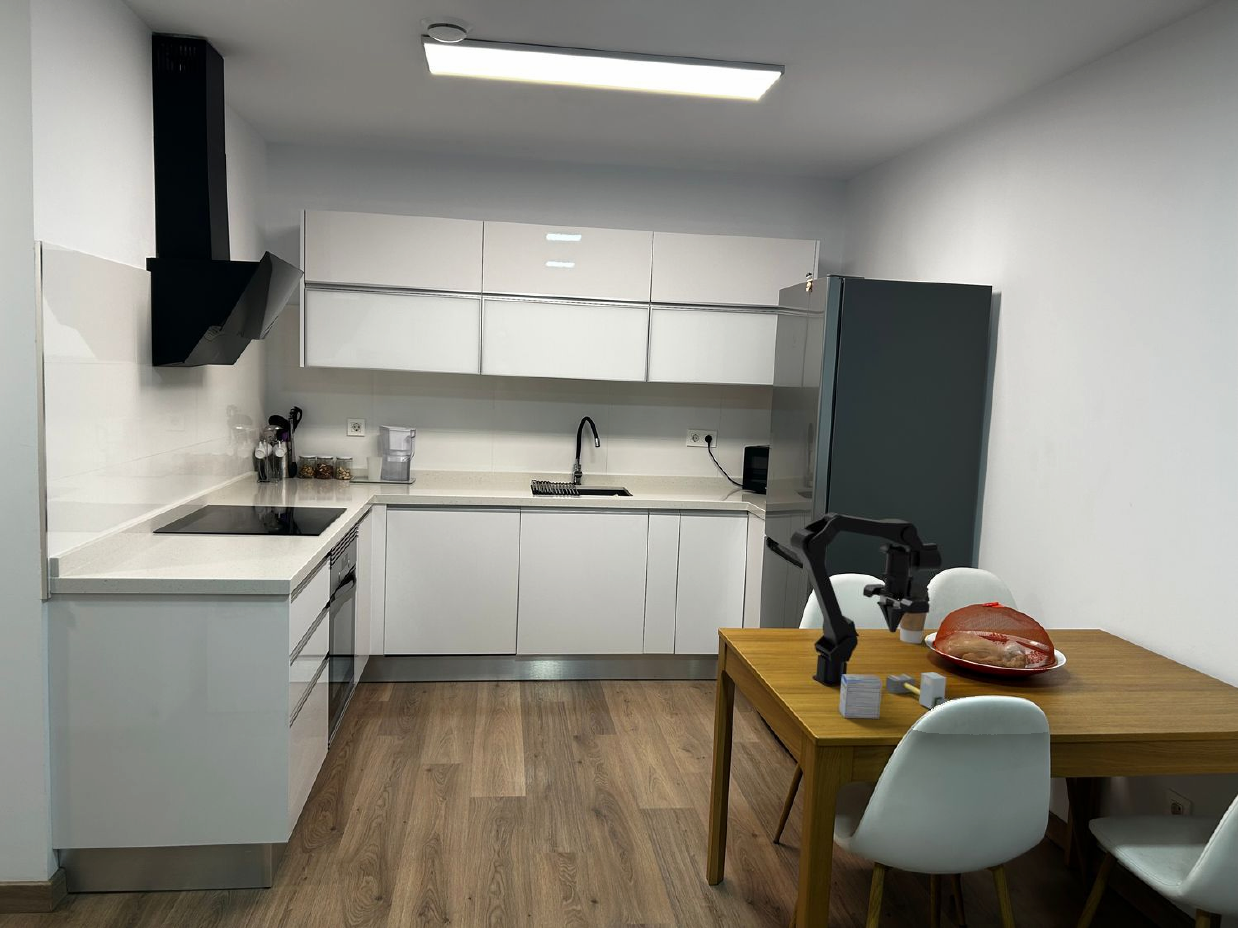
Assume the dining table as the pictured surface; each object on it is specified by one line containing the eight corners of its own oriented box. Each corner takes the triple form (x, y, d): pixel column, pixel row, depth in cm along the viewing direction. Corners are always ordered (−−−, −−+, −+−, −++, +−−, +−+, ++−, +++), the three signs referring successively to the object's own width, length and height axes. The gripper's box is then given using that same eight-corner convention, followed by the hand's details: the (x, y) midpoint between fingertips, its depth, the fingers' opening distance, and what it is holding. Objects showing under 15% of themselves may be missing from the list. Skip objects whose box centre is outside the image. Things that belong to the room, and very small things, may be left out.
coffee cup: (892, 641, 265) (897, 590, 263) (898, 634, 272) (903, 584, 271) (923, 646, 261) (927, 594, 259) (928, 639, 268) (932, 589, 267)
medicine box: (873, 712, 207) (876, 674, 206) (879, 719, 203) (882, 681, 202) (838, 710, 207) (841, 673, 206) (843, 718, 202) (846, 679, 201)
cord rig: (940, 718, 205) (941, 703, 205) (885, 689, 222) (886, 675, 222) (961, 716, 207) (962, 700, 207) (905, 687, 225) (906, 673, 224)
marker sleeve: (930, 709, 209) (933, 678, 209) (918, 702, 213) (921, 673, 212) (943, 707, 211) (946, 677, 210) (931, 701, 215) (934, 672, 214)
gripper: (950, 578, 222) (944, 641, 224) (899, 561, 240) (894, 620, 241) (912, 579, 218) (907, 643, 220) (864, 562, 235) (859, 622, 237)
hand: (892, 632), depth 230 cm, fingers closed
